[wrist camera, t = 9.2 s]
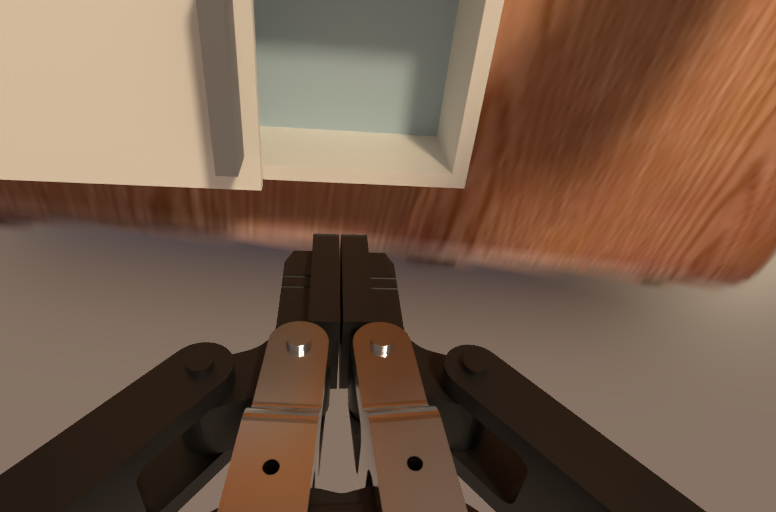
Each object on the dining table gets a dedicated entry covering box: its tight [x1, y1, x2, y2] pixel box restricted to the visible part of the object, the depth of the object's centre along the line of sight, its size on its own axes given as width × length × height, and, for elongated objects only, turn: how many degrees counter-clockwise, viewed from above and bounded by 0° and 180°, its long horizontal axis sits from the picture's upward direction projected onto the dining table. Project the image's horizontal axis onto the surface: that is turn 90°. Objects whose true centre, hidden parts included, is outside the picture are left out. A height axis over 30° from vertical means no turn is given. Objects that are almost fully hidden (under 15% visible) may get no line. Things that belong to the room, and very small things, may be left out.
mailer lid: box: [0, 0, 263, 191], centre depth 25 cm, size 20×14×3 cm
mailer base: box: [253, 0, 504, 188], centre depth 31 cm, size 20×14×7 cm
